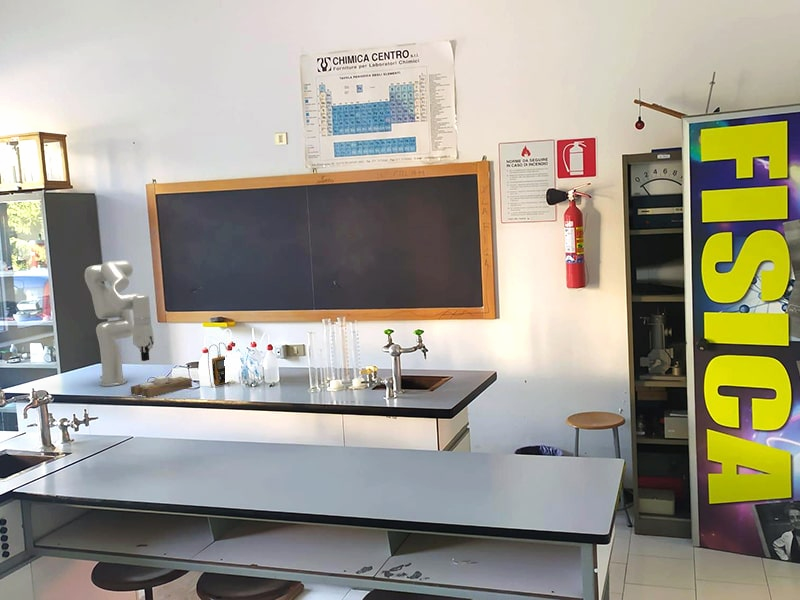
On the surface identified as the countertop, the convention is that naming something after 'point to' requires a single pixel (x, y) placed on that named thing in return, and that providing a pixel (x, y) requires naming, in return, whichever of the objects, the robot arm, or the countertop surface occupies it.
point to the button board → (162, 387)
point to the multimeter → (218, 369)
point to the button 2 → (175, 377)
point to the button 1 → (147, 385)
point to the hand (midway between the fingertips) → (145, 360)
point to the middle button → (161, 380)
